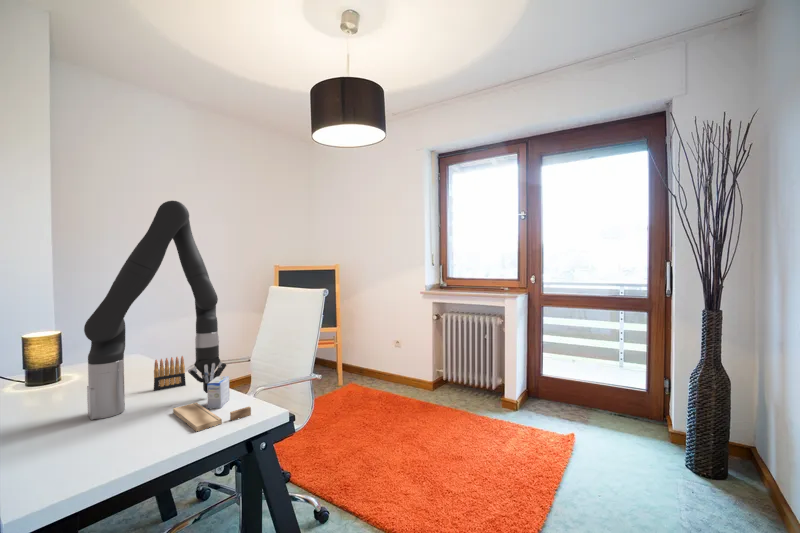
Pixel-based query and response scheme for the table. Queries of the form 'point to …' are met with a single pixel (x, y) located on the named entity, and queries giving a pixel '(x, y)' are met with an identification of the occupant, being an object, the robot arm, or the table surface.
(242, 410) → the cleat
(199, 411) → the board
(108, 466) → the table surface
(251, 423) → the table surface
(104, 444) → the table surface
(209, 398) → the medicine box
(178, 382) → the ammunition clip
